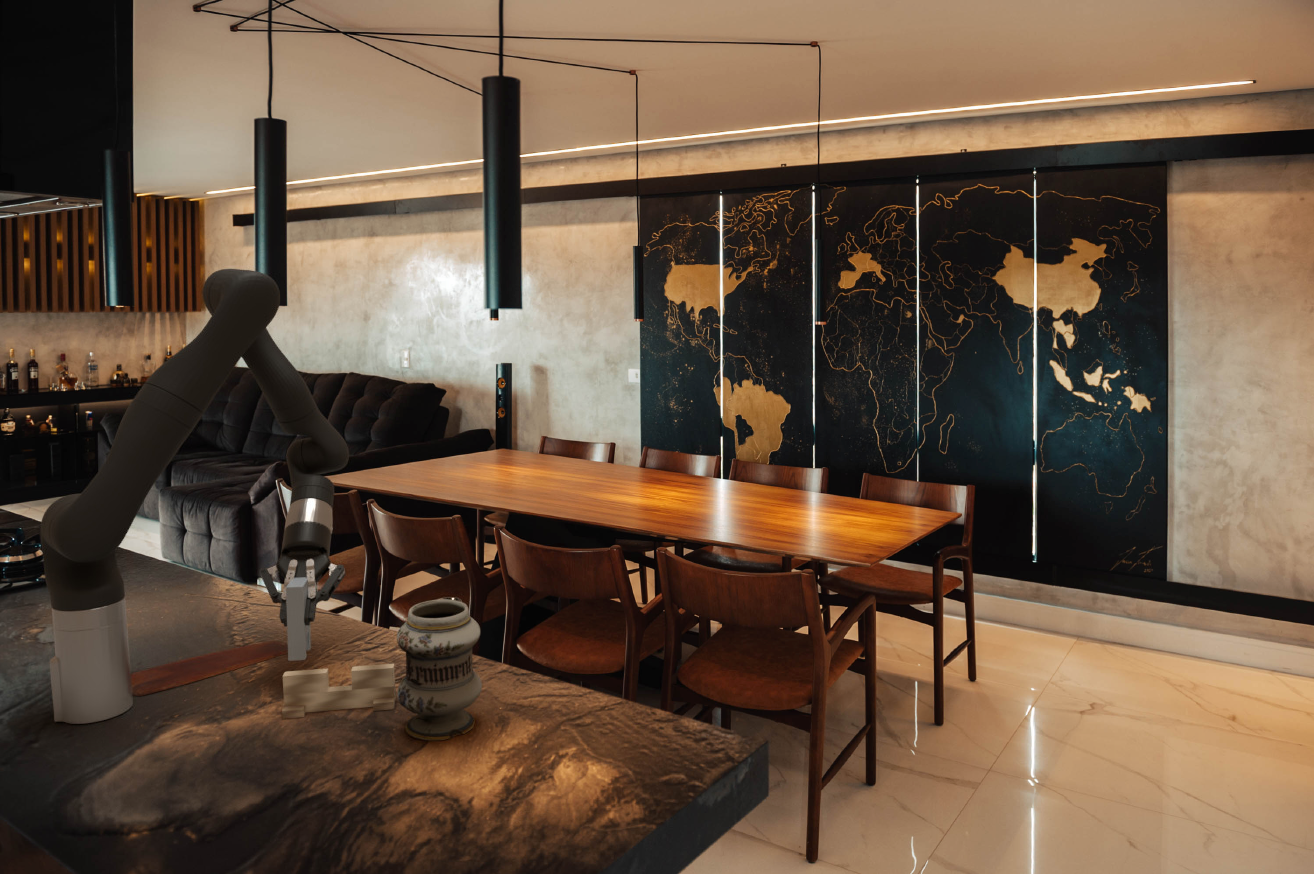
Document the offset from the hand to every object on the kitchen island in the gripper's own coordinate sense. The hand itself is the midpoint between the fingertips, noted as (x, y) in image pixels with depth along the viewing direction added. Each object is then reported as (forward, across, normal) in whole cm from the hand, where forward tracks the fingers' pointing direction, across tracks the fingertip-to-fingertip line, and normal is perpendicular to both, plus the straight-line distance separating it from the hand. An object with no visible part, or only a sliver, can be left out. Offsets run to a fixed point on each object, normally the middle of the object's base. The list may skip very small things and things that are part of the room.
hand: (296, 623), depth 135 cm
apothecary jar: (+20, +23, -4) cm, 30 cm away
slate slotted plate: (+3, 0, +6) cm, 6 cm away
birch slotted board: (+13, +7, +3) cm, 15 cm away
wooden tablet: (-2, -16, +19) cm, 25 cm away
